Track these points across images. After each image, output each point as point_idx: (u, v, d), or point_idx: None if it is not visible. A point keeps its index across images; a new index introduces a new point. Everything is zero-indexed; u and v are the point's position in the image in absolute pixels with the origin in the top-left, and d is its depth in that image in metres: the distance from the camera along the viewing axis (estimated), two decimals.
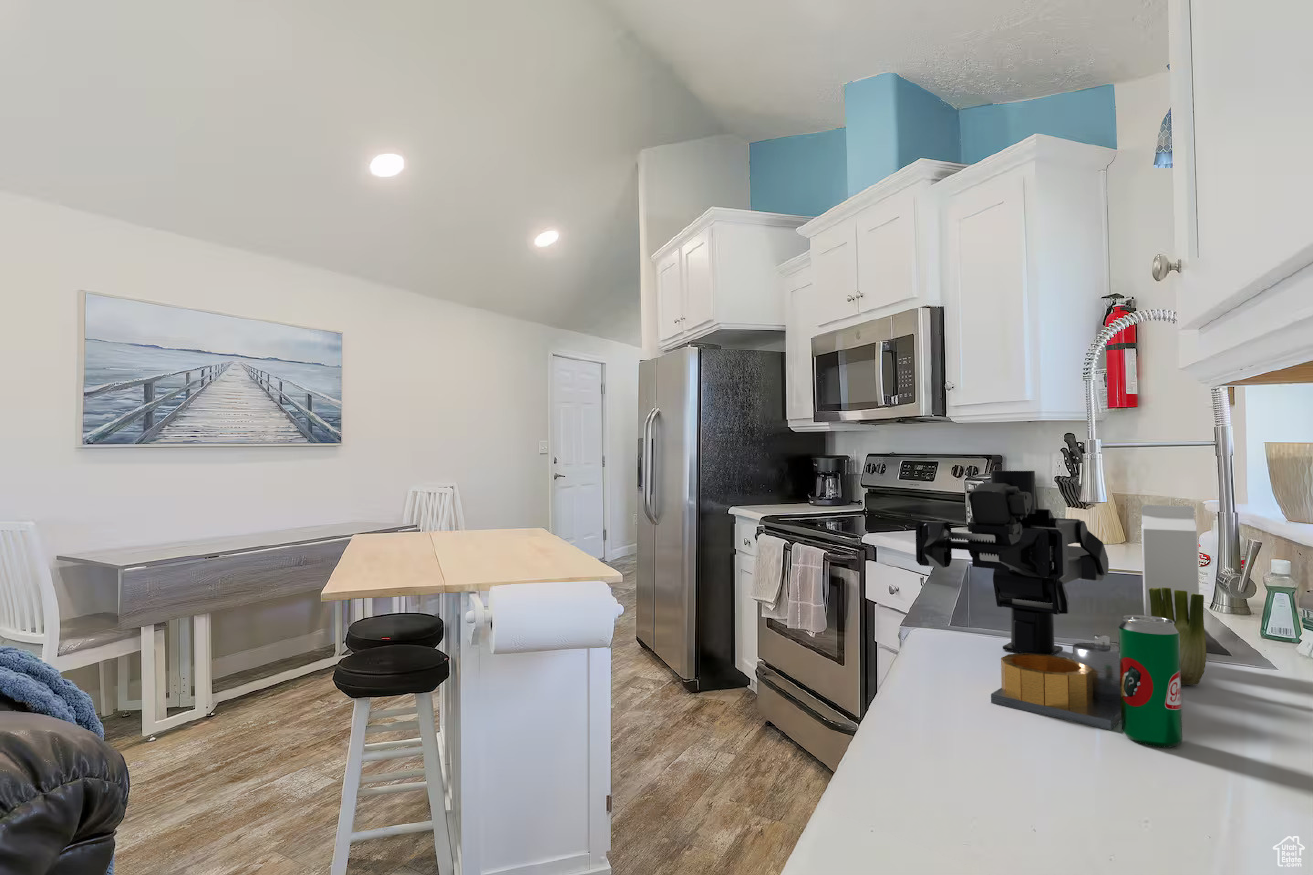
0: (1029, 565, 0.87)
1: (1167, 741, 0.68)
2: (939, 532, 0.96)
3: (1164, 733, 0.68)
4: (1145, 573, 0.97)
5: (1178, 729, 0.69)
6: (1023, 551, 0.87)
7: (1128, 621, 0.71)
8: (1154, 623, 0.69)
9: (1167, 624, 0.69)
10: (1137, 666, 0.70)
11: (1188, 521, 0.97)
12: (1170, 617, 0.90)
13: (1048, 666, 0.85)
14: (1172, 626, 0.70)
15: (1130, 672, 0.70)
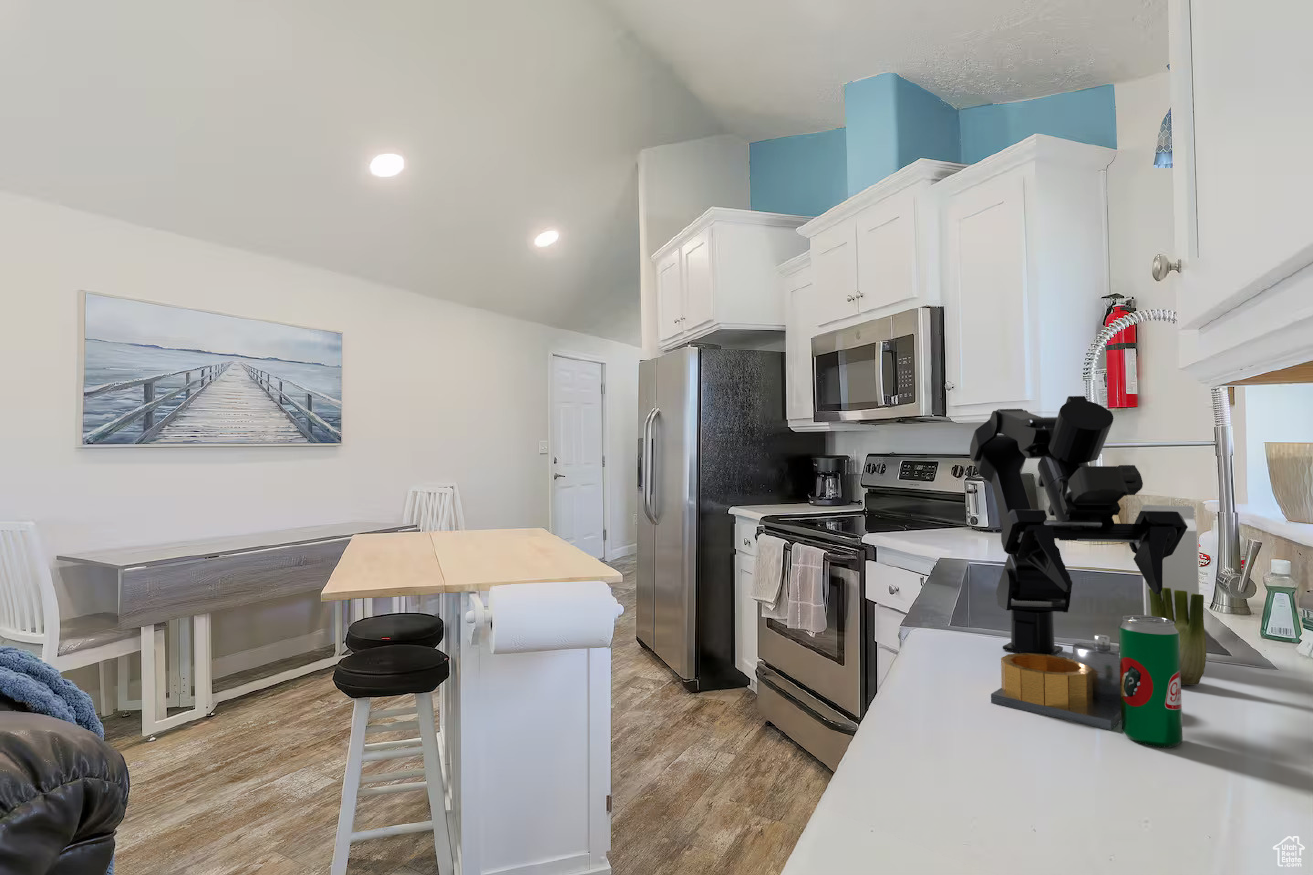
0: None
1: (1167, 741, 0.68)
2: (1052, 539, 0.83)
3: (1164, 733, 0.68)
4: None
5: (1178, 729, 0.69)
6: None
7: (1128, 621, 0.71)
8: (1154, 623, 0.69)
9: (1167, 624, 0.69)
10: (1137, 666, 0.70)
11: (1188, 521, 0.97)
12: (1170, 617, 0.90)
13: (1048, 666, 0.85)
14: (1172, 626, 0.70)
15: (1130, 672, 0.70)
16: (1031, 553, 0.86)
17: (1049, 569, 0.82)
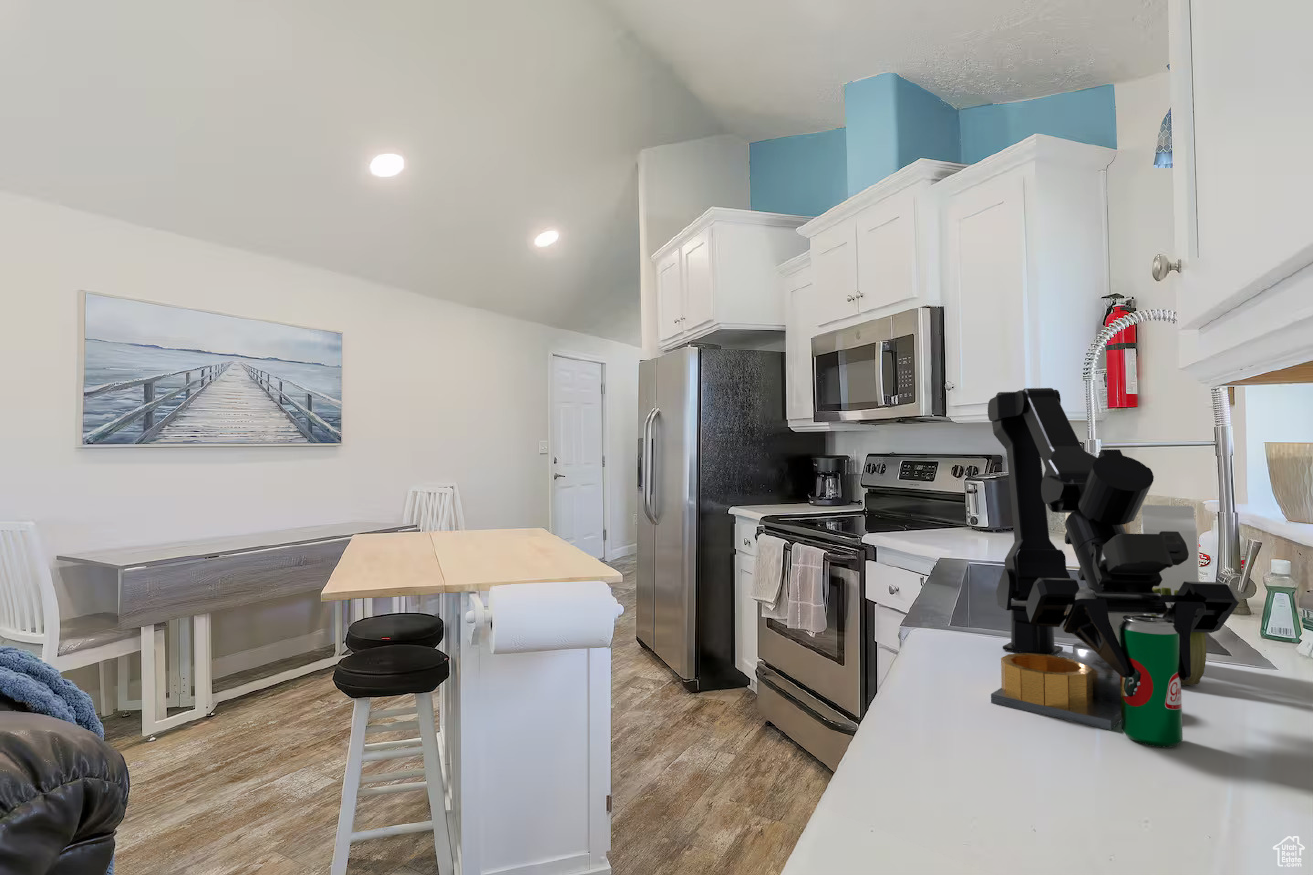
0: None
1: (1167, 741, 0.68)
2: (1105, 615, 0.73)
3: (1164, 733, 0.68)
4: None
5: (1178, 729, 0.69)
6: None
7: (1128, 621, 0.71)
8: (1154, 623, 0.69)
9: (1167, 624, 0.69)
10: (1137, 665, 0.70)
11: (1188, 521, 0.97)
12: None
13: (1048, 666, 0.85)
14: (1172, 626, 0.70)
15: (1131, 671, 0.70)
16: (1079, 628, 0.76)
17: (1102, 649, 0.73)
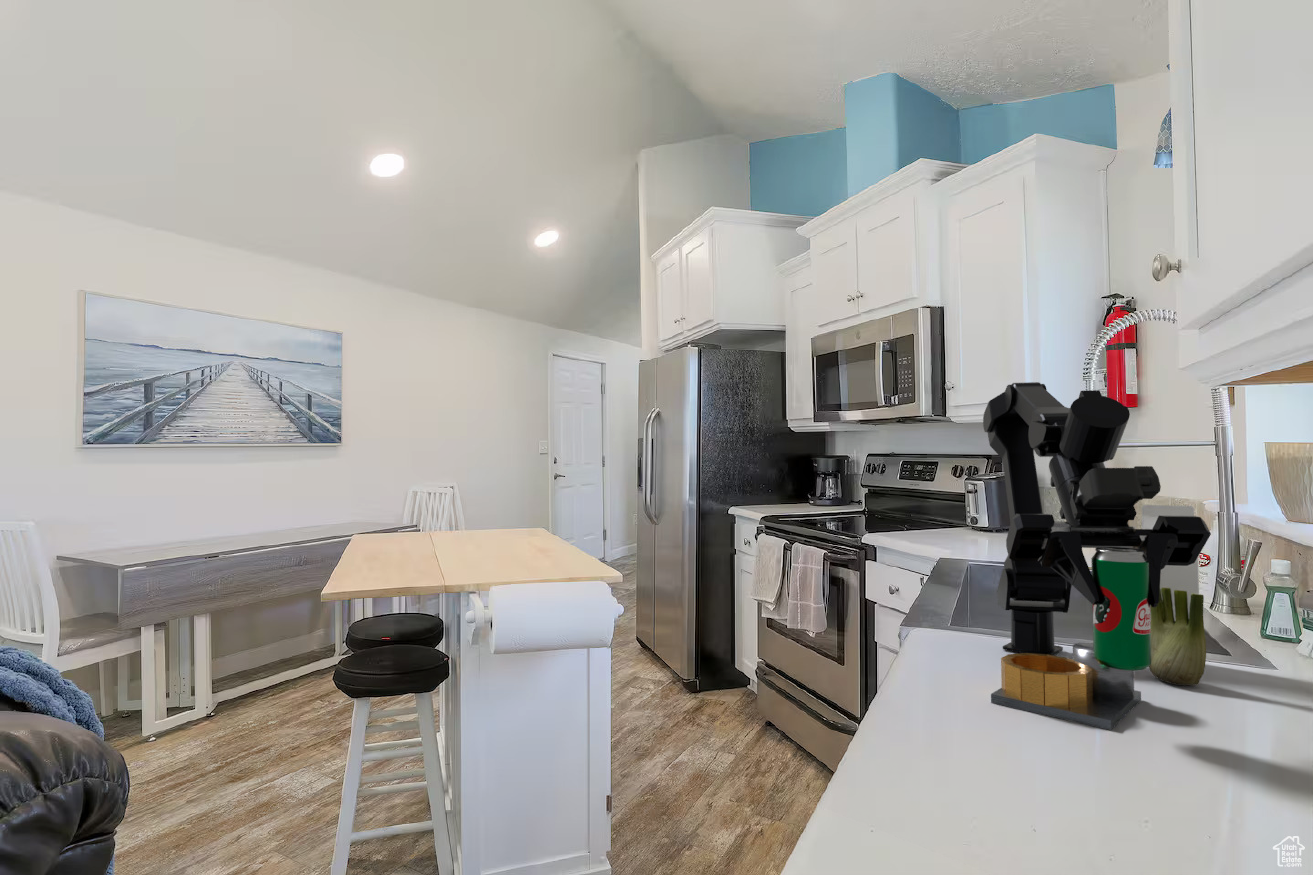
0: None
1: (1135, 664, 0.71)
2: (1079, 546, 0.76)
3: (1132, 656, 0.71)
4: None
5: (1146, 653, 0.71)
6: None
7: (1099, 551, 0.74)
8: (1123, 552, 0.72)
9: (1136, 553, 0.72)
10: (1106, 593, 0.73)
11: None
12: (1170, 617, 0.90)
13: (1048, 666, 0.85)
14: (1141, 555, 0.72)
15: (1101, 599, 0.73)
16: (1056, 561, 0.79)
17: (1076, 579, 0.76)
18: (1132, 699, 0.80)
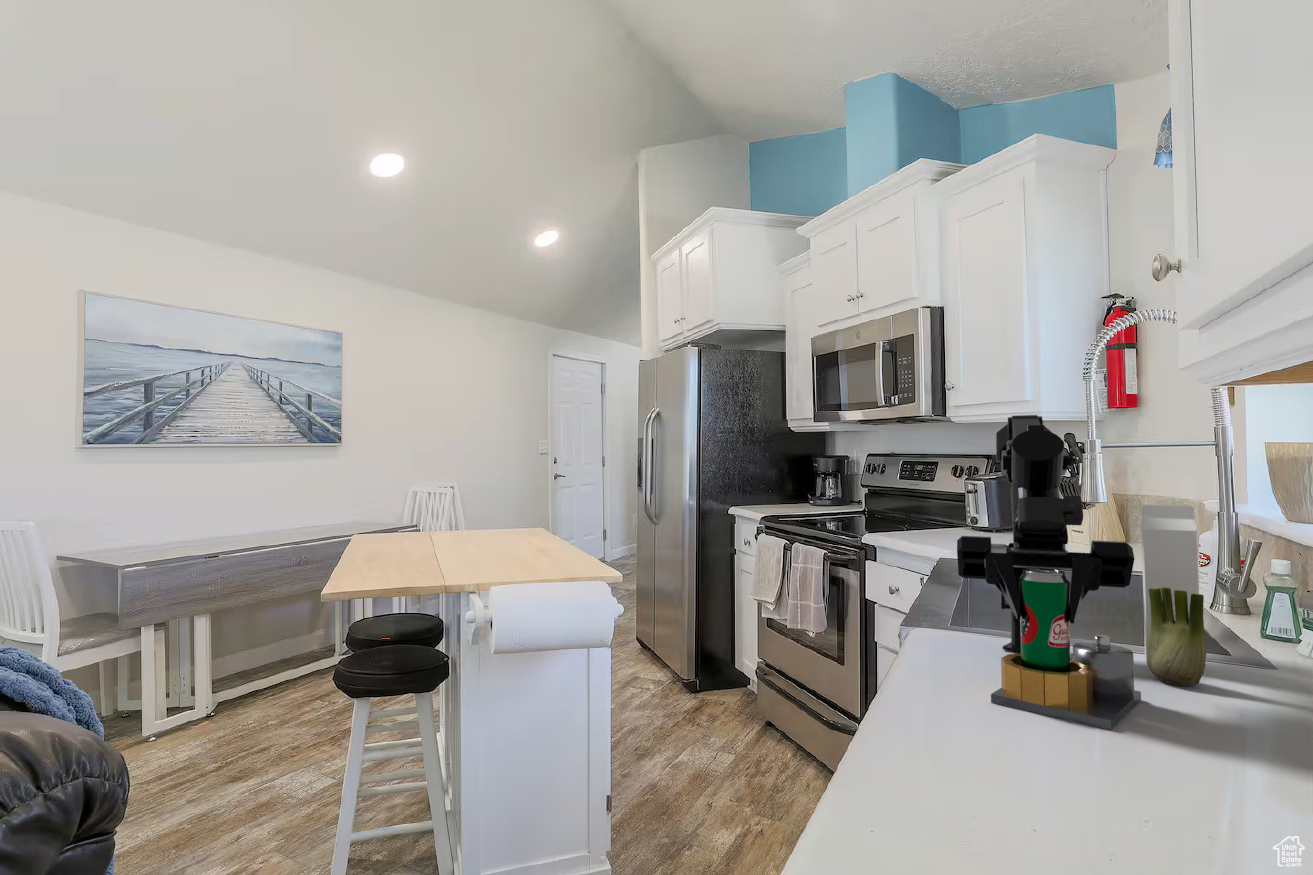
0: (1083, 592, 0.83)
1: None
2: (1010, 567, 0.85)
3: (1047, 666, 0.80)
4: (1145, 573, 0.97)
5: (1061, 664, 0.80)
6: None
7: (1024, 572, 0.83)
8: (1041, 573, 0.81)
9: (1053, 574, 0.80)
10: (1027, 609, 0.82)
11: (1188, 521, 0.97)
12: (1170, 617, 0.90)
13: None
14: (1059, 576, 0.81)
15: (1023, 614, 0.82)
16: (997, 579, 0.88)
17: (1007, 596, 0.85)
18: (1132, 699, 0.80)
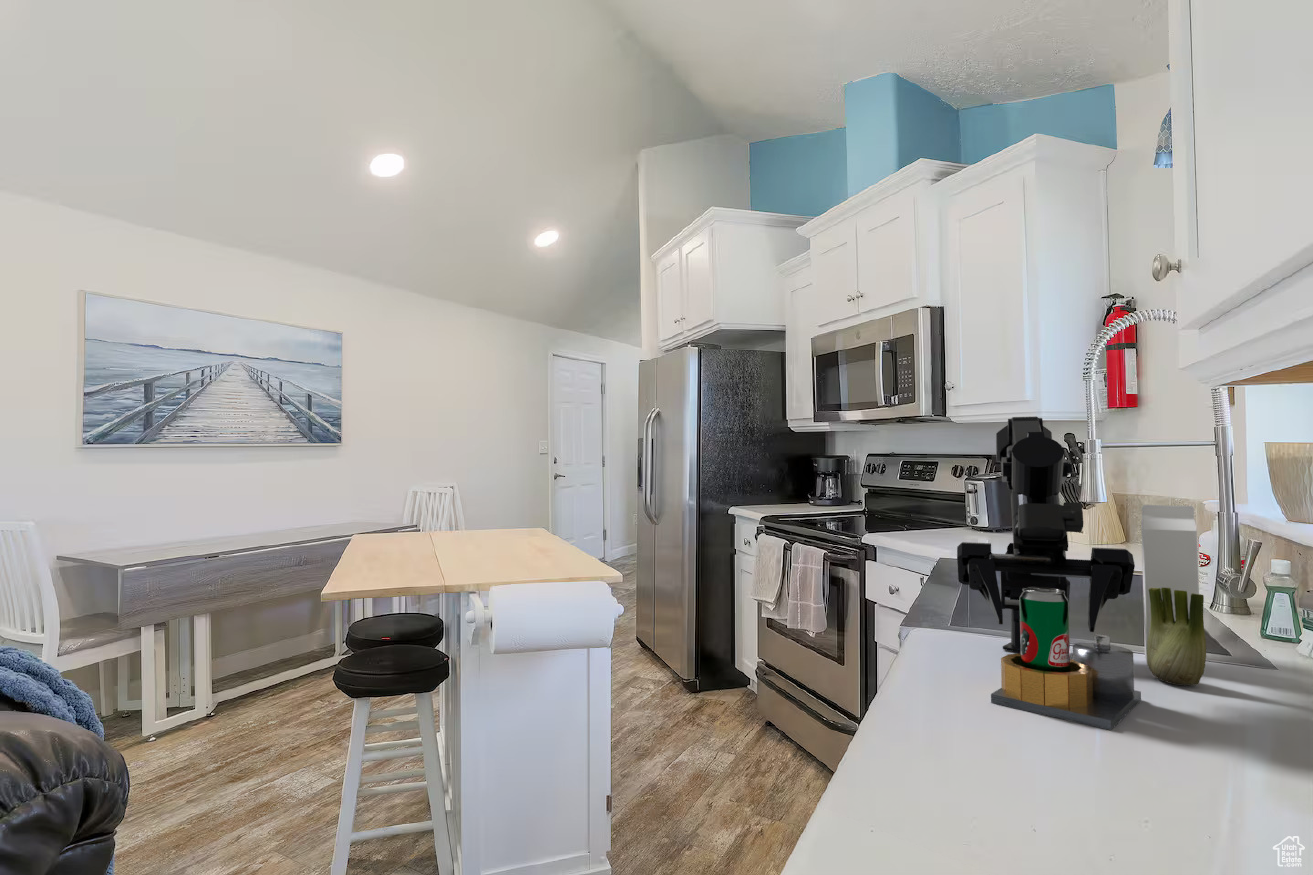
0: (1102, 600, 0.83)
1: None
2: (993, 572, 0.86)
3: None
4: (1145, 573, 0.97)
5: None
6: None
7: (1023, 590, 0.83)
8: (1041, 592, 0.81)
9: (1052, 593, 0.80)
10: (1026, 628, 0.82)
11: (1188, 521, 0.97)
12: (1170, 617, 0.90)
13: None
14: (1059, 595, 0.81)
15: (1023, 633, 0.82)
16: (981, 585, 0.89)
17: (990, 601, 0.86)
18: (1132, 699, 0.80)
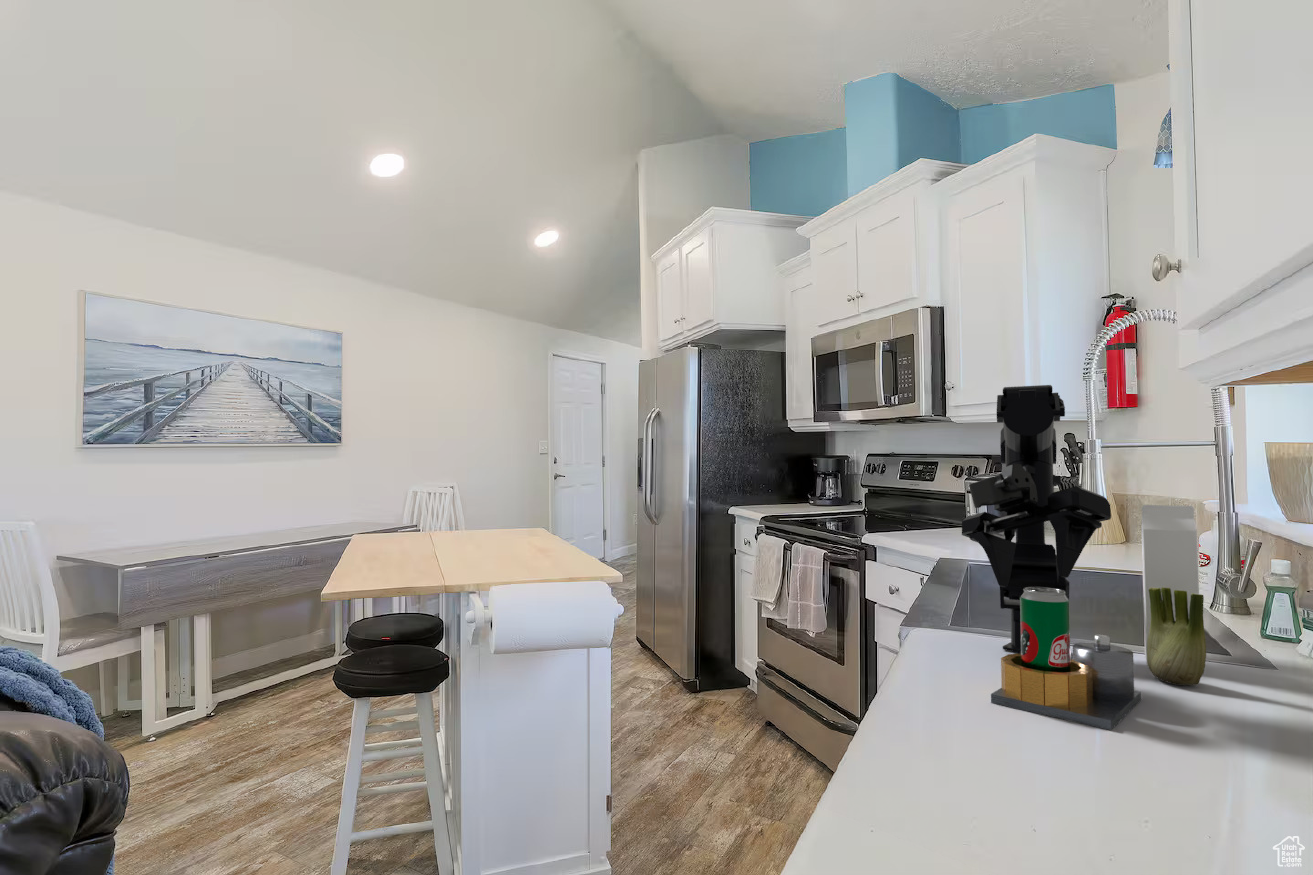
0: (1082, 537, 0.86)
1: None
2: (987, 542, 0.96)
3: None
4: (1145, 573, 0.97)
5: None
6: (1068, 538, 0.86)
7: (1024, 590, 0.83)
8: (1042, 592, 0.81)
9: (1053, 593, 0.80)
10: (1027, 628, 0.82)
11: (1188, 521, 0.97)
12: (1170, 617, 0.90)
13: None
14: (1059, 595, 0.80)
15: (1024, 633, 0.82)
16: None
17: None
18: (1132, 699, 0.80)
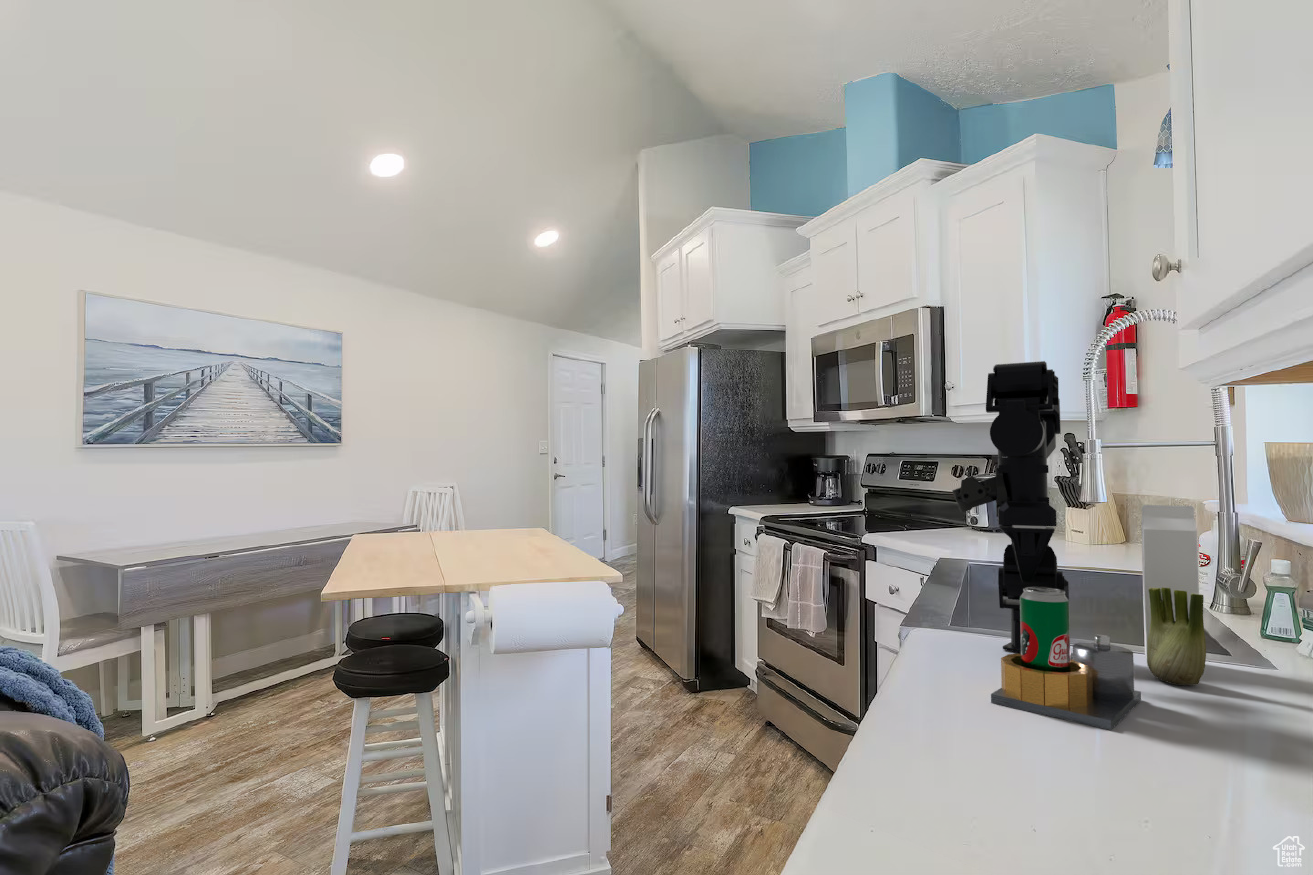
0: (1039, 543, 0.86)
1: None
2: None
3: None
4: (1145, 573, 0.97)
5: None
6: (1023, 546, 0.87)
7: (1024, 590, 0.83)
8: (1041, 592, 0.81)
9: (1053, 593, 0.80)
10: (1027, 628, 0.82)
11: (1188, 521, 0.97)
12: (1170, 617, 0.90)
13: None
14: (1059, 595, 0.80)
15: (1023, 633, 0.82)
16: None
17: None
18: (1132, 699, 0.80)
